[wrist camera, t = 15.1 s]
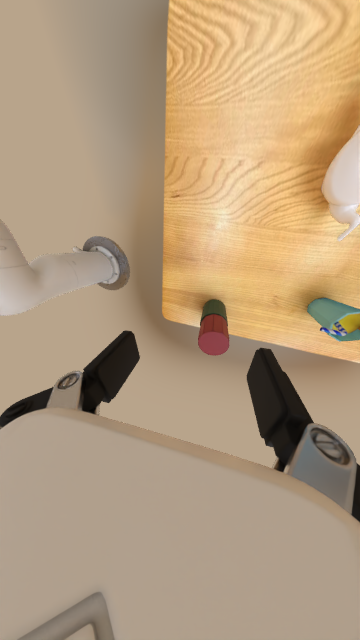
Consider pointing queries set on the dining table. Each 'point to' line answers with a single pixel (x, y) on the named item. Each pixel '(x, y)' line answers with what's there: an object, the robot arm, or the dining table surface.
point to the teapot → (344, 185)
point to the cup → (336, 319)
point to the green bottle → (214, 309)
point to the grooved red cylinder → (213, 335)
